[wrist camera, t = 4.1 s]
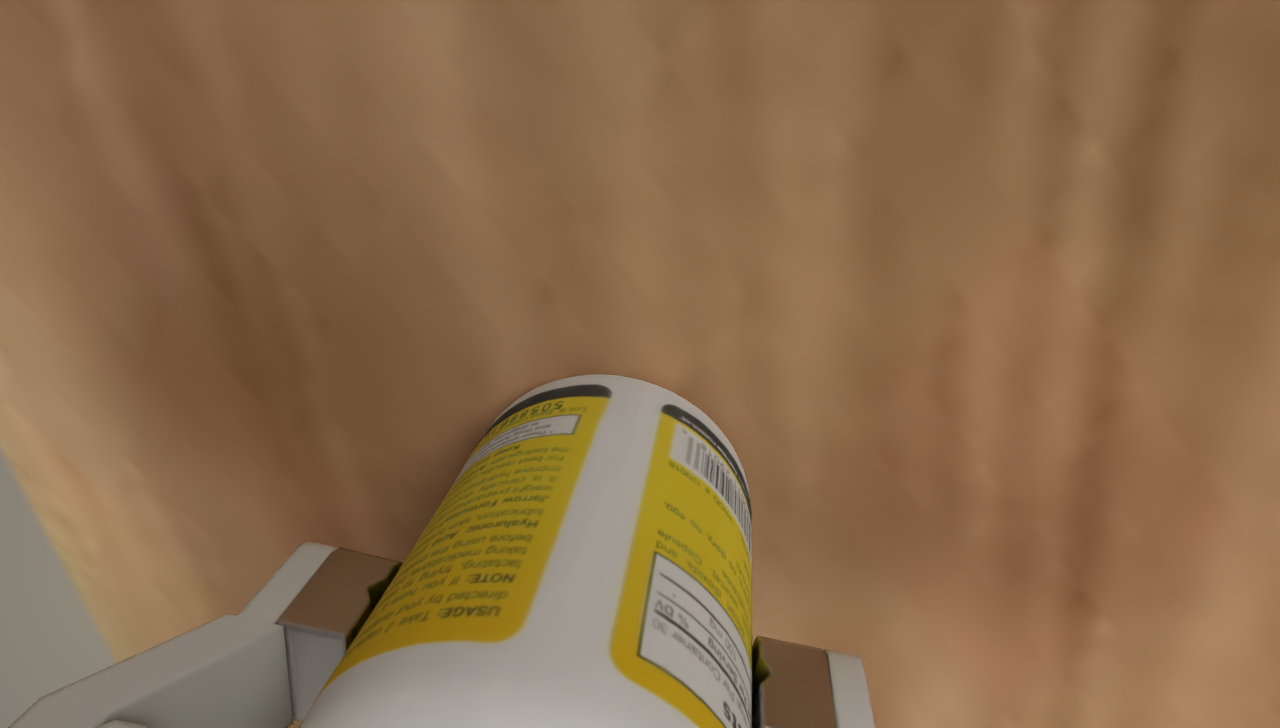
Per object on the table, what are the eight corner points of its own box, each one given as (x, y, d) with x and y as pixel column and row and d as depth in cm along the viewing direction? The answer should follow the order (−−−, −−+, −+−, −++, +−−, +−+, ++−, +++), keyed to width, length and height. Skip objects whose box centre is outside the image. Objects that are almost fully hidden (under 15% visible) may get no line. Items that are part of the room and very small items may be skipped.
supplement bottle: (458, 549, 15) (69, 1244, 7) (510, 326, 13) (10, 944, 4) (701, 629, 15) (632, 1429, 7) (796, 420, 13) (888, 1234, 4)
